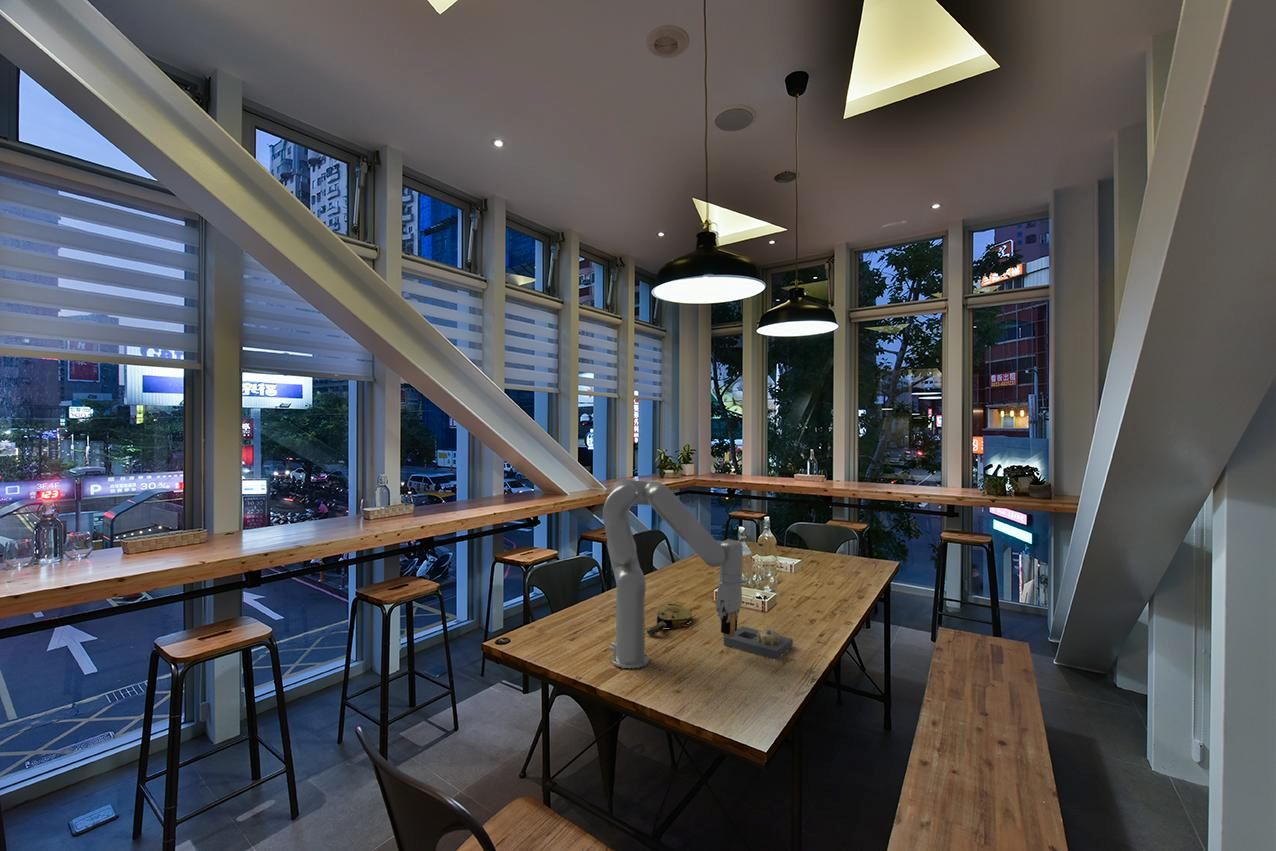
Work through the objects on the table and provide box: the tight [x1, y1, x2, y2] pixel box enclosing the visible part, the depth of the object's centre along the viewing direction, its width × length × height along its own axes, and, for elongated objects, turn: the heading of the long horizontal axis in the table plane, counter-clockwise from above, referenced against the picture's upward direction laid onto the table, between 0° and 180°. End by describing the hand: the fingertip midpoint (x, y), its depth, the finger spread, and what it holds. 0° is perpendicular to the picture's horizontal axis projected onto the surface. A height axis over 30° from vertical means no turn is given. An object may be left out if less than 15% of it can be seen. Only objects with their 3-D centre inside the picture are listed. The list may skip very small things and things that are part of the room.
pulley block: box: [646, 603, 698, 636], centre depth 213 cm, size 14×6×30 cm
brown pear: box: [722, 610, 736, 637], centre depth 183 cm, size 4×4×8 cm
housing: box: [723, 626, 794, 661], centre depth 192 cm, size 20×14×6 cm
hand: (728, 631), depth 183 cm, fingers closed on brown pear, 4 cm apart
